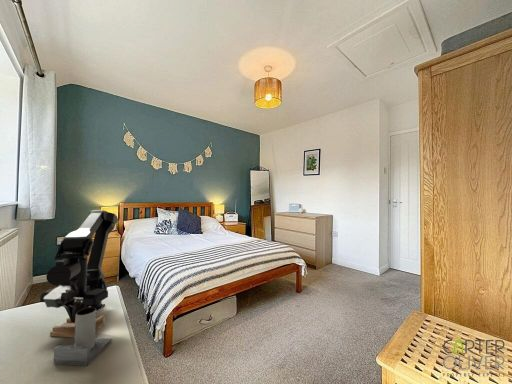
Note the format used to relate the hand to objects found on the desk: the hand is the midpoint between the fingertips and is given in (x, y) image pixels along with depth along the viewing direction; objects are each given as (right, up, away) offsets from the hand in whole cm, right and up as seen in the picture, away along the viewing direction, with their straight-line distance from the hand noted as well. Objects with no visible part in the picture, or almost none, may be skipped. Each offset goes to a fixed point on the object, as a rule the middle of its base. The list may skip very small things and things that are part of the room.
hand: (74, 321), depth 71 cm
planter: (+11, -2, -10) cm, 15 cm away
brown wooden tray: (+1, -3, 0) cm, 3 cm away
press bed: (+11, -3, -10) cm, 15 cm away
